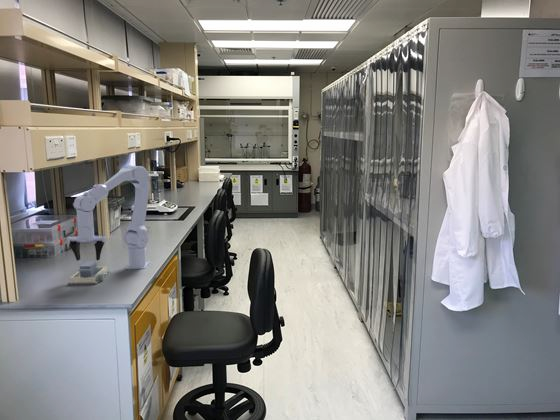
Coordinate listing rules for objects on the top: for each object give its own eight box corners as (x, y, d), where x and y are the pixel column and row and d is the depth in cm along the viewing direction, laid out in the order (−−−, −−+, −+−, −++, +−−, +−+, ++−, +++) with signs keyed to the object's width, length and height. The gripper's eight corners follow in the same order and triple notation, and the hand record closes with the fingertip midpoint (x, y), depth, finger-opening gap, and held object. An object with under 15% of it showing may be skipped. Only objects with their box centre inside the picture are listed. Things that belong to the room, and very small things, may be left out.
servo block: (88, 273, 181) (87, 260, 180) (98, 273, 181) (97, 260, 180) (79, 281, 171) (78, 267, 170) (89, 280, 171) (88, 267, 170)
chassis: (82, 272, 183) (81, 266, 183) (111, 272, 184) (110, 266, 184) (67, 284, 169) (67, 278, 168) (99, 284, 170) (98, 277, 169)
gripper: (62, 228, 169) (65, 263, 171) (101, 228, 170) (103, 262, 172) (69, 225, 175) (72, 258, 178) (107, 224, 177) (109, 257, 179)
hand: (88, 259), depth 175 cm, fingers open, 7 cm apart
